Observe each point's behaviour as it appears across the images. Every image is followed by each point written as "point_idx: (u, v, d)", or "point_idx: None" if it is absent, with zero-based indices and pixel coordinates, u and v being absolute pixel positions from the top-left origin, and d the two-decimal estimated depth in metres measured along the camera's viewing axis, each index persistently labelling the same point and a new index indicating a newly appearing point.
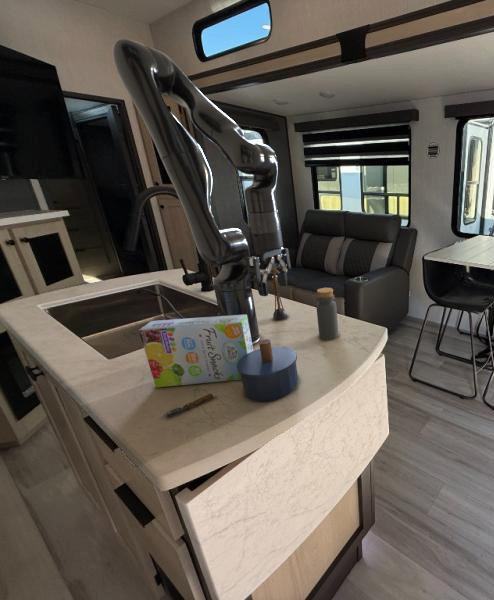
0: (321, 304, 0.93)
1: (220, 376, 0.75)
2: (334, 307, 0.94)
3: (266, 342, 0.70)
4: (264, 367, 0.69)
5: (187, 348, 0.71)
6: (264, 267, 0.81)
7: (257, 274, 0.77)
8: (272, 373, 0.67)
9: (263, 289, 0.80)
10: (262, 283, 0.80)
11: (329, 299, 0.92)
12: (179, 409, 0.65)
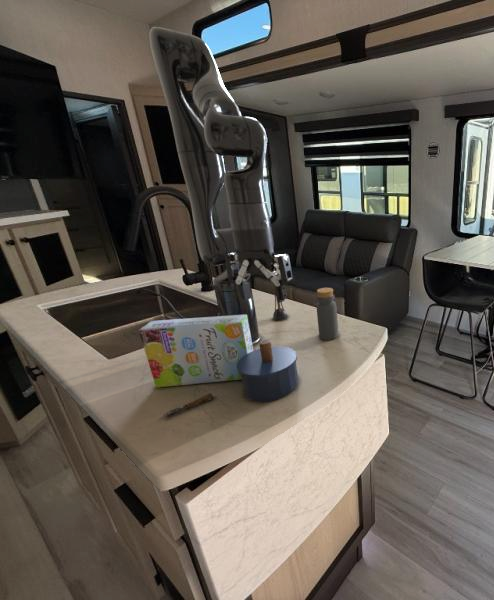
0: (321, 304, 0.93)
1: (220, 376, 0.75)
2: (334, 307, 0.94)
3: (266, 342, 0.70)
4: (264, 367, 0.69)
5: (187, 348, 0.71)
6: None
7: (228, 272, 0.69)
8: (272, 373, 0.67)
9: (240, 291, 0.70)
10: (239, 284, 0.70)
11: (329, 299, 0.92)
12: (179, 409, 0.65)
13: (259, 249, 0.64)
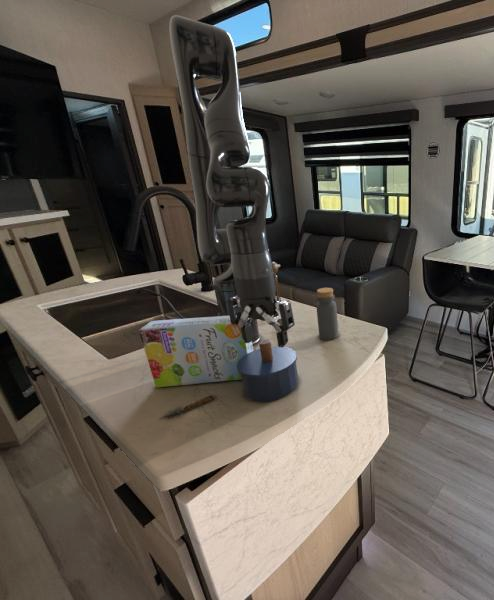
0: (321, 304, 0.93)
1: (220, 376, 0.75)
2: (334, 307, 0.94)
3: (266, 342, 0.70)
4: (264, 367, 0.69)
5: (187, 348, 0.71)
6: None
7: (230, 315, 0.69)
8: (272, 373, 0.67)
9: (243, 334, 0.70)
10: (241, 328, 0.70)
11: (329, 299, 0.92)
12: (180, 411, 0.65)
13: (260, 297, 0.63)
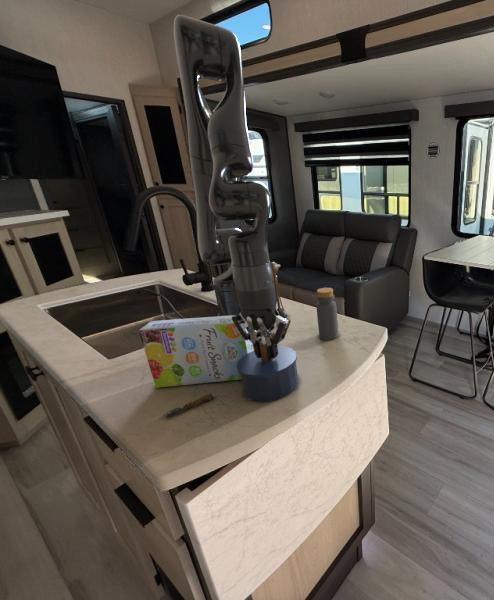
0: (321, 304, 0.93)
1: (220, 376, 0.75)
2: (334, 307, 0.94)
3: None
4: (264, 367, 0.69)
5: (187, 348, 0.71)
6: None
7: (241, 332, 0.69)
8: (272, 373, 0.67)
9: (255, 349, 0.71)
10: None
11: (329, 299, 0.92)
12: (179, 409, 0.65)
13: (261, 309, 0.64)
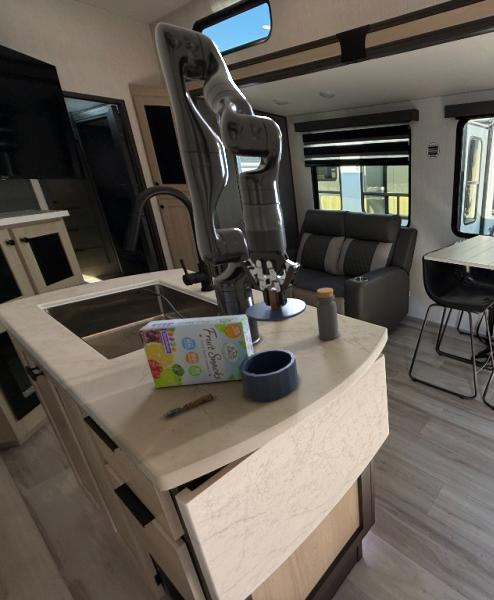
0: (321, 304, 0.93)
1: (220, 376, 0.75)
2: (334, 307, 0.94)
3: (275, 289, 0.69)
4: (273, 313, 0.68)
5: (187, 348, 0.71)
6: None
7: (250, 278, 0.69)
8: (281, 318, 0.66)
9: (264, 297, 0.70)
10: (263, 290, 0.69)
11: (329, 299, 0.92)
12: (179, 409, 0.65)
13: (271, 250, 0.63)
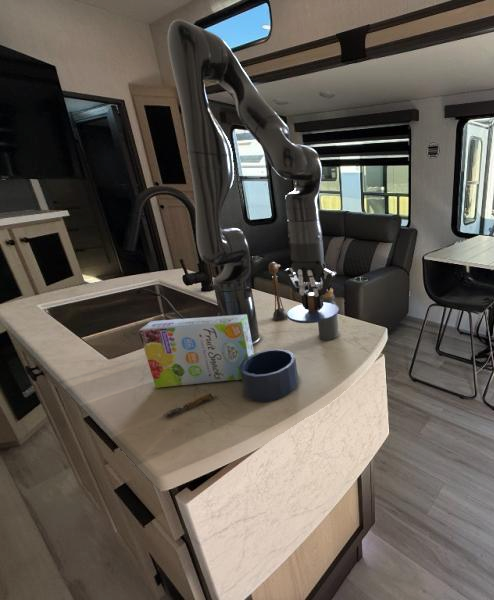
0: None
1: (220, 376, 0.75)
2: None
3: (313, 294, 0.78)
4: (312, 315, 0.77)
5: (187, 348, 0.71)
6: None
7: (291, 285, 0.77)
8: (321, 320, 0.75)
9: (303, 301, 0.79)
10: (302, 295, 0.78)
11: (329, 299, 0.92)
12: (179, 409, 0.65)
13: (313, 260, 0.72)
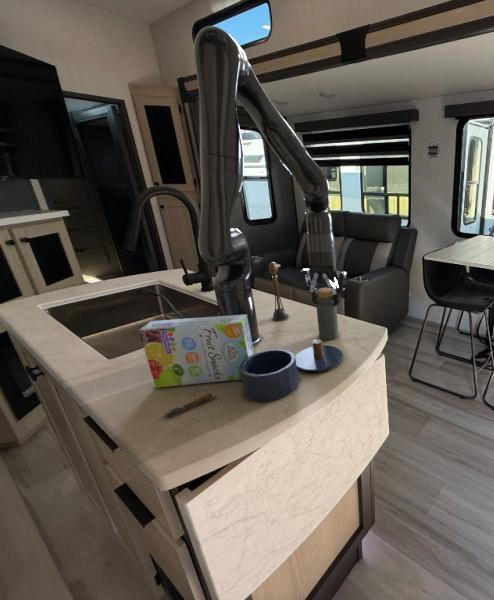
0: (321, 304, 0.93)
1: (220, 376, 0.75)
2: (334, 307, 0.94)
3: (318, 342, 0.82)
4: (318, 363, 0.81)
5: (187, 348, 0.71)
6: None
7: (303, 283, 0.93)
8: (325, 368, 0.79)
9: (312, 297, 0.94)
10: (312, 292, 0.94)
11: (329, 299, 0.92)
12: (179, 409, 0.65)
13: (327, 265, 0.87)
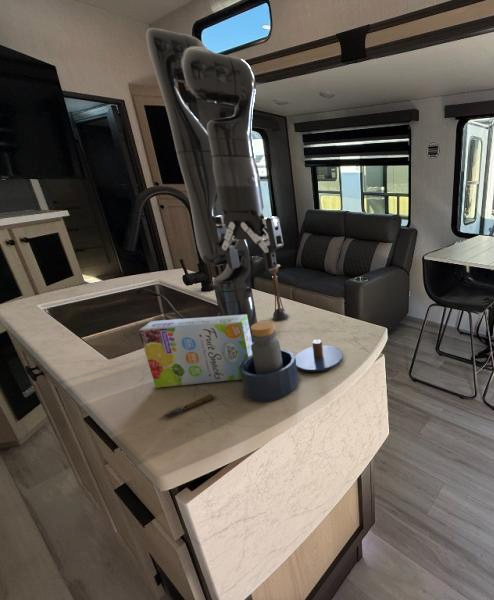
0: (257, 345, 0.68)
1: (220, 376, 0.75)
2: (275, 348, 0.69)
3: (318, 342, 0.82)
4: (318, 363, 0.81)
5: (187, 348, 0.71)
6: None
7: (214, 236, 0.63)
8: (325, 368, 0.79)
9: (227, 258, 0.64)
10: (226, 251, 0.64)
11: (267, 338, 0.68)
12: (179, 410, 0.65)
13: (245, 209, 0.57)
